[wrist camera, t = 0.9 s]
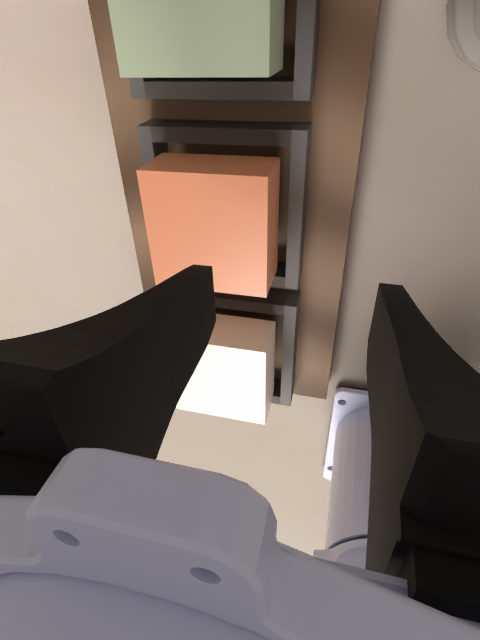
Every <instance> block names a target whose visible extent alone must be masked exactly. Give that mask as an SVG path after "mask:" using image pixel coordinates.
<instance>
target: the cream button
mask: <svg viewBox="0 0 480 640" xmlns="http://www.w3.org/2000/svg"><path fill="white" fill-rule="evenodd" d="M275 329H276V321H270V320H262V319H254V318H246V317H238V316H230V315H222V314H216V323H215V326H214V329H213V332H212V335H211V337H210V340H209V343H208V346H207V348H206V350H205V352H204V354H203V355H202V357H201V359H200V361H199V363H198V365H197V367H196V369H195V371H194V373H193V375H192V376H191V378H190V380H189V382H188V384H187V386H186V388H185V390H184V392H183V393H182V395H181V397H180V399H179V401H178V404H177V406H176V407H177V409H182V410H187V411H193V412H198V413H204V414H209V415H215V416H220V417H226V418H231V419H237V420H242V421H248V422H253V423H259V424H264V425H265V423H266V419H267V415H268V411H269V407H270V404H271V400H272V396H273V392H274V364H275Z"/></svg>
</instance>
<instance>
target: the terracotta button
mask: <svg viewBox="0 0 480 640" xmlns="http://www.w3.org/2000/svg"><path fill="white" fill-rule="evenodd" d="M136 173H137V178H138V184H139V190H140V196H141V202H142V208H143V214H144V219H145V225H146V231H147V237H148V243H149V249H150V255H151V261H152V266H153V272H154V278H155V284H156V285H158V284H159V283H161V282H163V281H164V280H166V279H168V278H170V277H171V276H173V275H175V274H176V273H178V272H180V271H182V270H183V269H185V268H187V267H189V266H191V265H193V264H195V265H205V266H212V270H213V283H214V292H219V293H228V294H237V295H246V296H254V297H263V298H267V295H268V293H269V290H270V287H271V285H272V282H273V279H274V276H275V274H276V271H277V259H278V223H279V188H280V157H261V156H236V155H212V154H187V153H161V154H159V155H158V156H156V157H155V158H153V159H152V160H150V161H149V162H147V163H146V164H145V165H143V166H142V167H140V168H139V169H137V170H136Z"/></svg>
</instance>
